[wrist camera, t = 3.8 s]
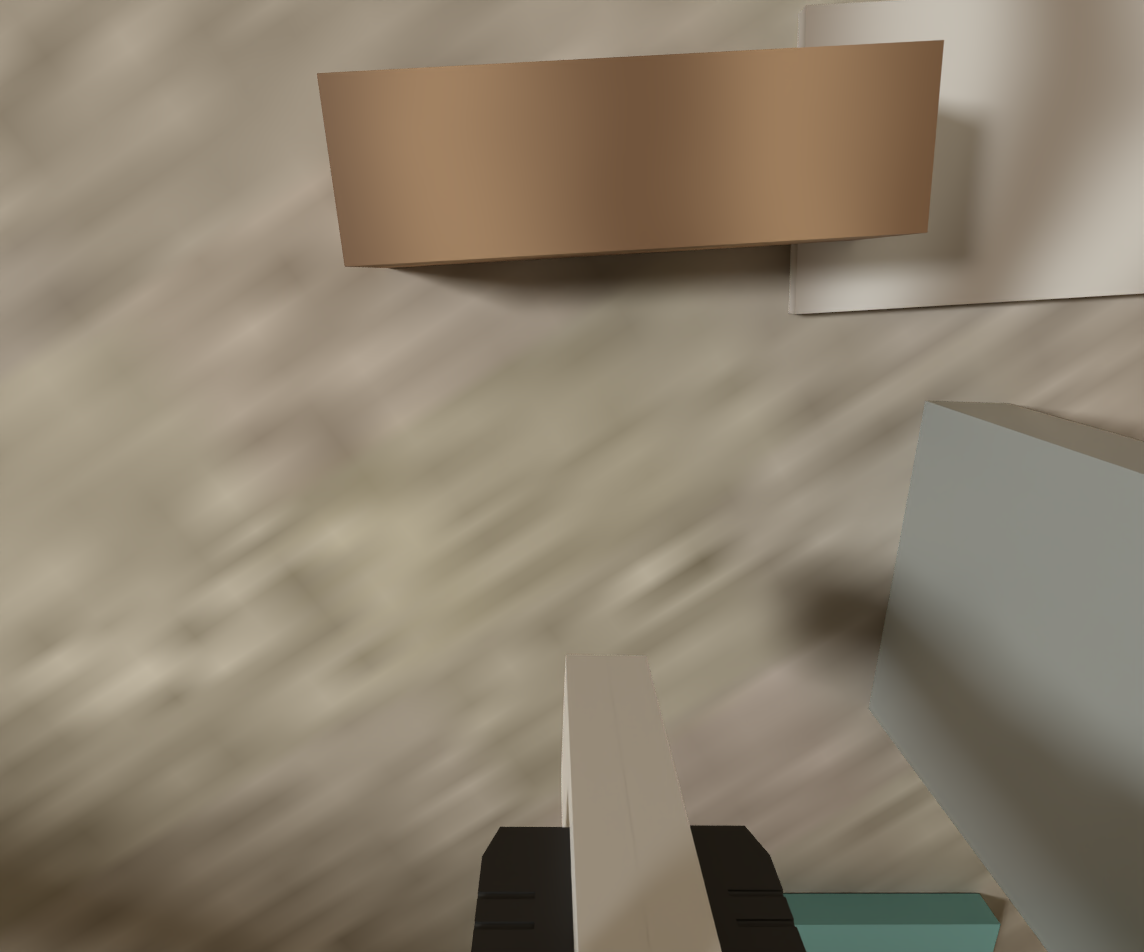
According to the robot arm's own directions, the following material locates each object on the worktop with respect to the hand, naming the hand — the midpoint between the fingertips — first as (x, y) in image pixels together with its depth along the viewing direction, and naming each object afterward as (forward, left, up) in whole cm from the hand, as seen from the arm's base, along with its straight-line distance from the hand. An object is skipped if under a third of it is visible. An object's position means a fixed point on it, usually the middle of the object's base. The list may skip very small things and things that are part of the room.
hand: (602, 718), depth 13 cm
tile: (+11, 0, -8) cm, 13 cm away
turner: (+5, +11, -8) cm, 14 cm away
